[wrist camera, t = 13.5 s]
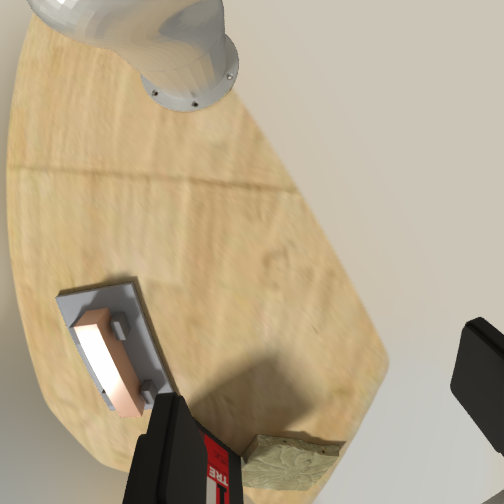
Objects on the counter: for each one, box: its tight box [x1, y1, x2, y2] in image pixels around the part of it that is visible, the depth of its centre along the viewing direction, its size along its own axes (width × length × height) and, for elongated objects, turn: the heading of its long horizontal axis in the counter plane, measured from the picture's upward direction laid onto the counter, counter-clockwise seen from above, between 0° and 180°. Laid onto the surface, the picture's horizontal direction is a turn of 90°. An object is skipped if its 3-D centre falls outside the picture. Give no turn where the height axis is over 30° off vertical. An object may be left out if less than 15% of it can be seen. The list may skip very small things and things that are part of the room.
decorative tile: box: [241, 435, 340, 491], centre depth 57 cm, size 19×20×4 cm
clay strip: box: [74, 308, 146, 417], centre depth 44 cm, size 18×4×5 cm, turn 10°
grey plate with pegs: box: [55, 282, 174, 411], centre depth 45 cm, size 24×14×4 cm, turn 10°
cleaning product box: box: [193, 418, 244, 504], centre depth 46 cm, size 16×9×20 cm, turn 32°
